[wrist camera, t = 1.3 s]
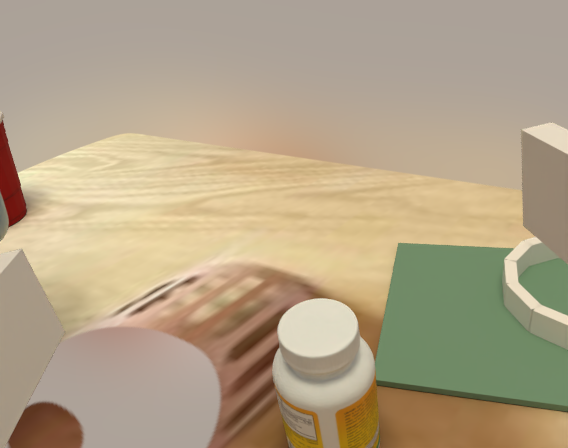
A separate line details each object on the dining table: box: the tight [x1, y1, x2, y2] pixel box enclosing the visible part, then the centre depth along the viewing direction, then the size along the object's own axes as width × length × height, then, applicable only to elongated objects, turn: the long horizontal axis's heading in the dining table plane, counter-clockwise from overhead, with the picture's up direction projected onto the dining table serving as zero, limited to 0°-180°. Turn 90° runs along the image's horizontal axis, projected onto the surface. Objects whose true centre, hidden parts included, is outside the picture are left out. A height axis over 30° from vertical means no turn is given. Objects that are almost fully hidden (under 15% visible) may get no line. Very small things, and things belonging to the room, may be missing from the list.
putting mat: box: [375, 243, 568, 412], centre depth 35 cm, size 19×15×1 cm
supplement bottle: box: [272, 298, 380, 448], centre depth 27 cm, size 5×5×10 cm
